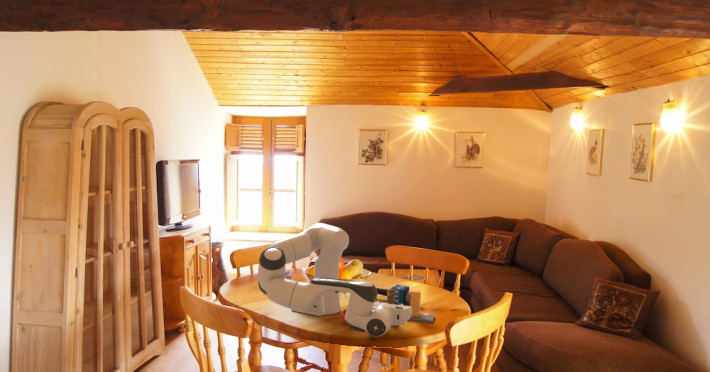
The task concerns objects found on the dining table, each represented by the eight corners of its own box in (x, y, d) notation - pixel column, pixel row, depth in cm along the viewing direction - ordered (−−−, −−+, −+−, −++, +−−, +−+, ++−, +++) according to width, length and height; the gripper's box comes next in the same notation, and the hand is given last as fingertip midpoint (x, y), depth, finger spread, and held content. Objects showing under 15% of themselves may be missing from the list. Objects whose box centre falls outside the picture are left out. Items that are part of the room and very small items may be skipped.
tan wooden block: (409, 316, 220) (410, 291, 219) (410, 313, 224) (411, 289, 223) (418, 317, 219) (419, 292, 218) (419, 314, 223) (420, 290, 222)
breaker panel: (402, 319, 219) (402, 310, 218) (405, 313, 226) (405, 305, 226) (432, 323, 216) (432, 313, 215) (434, 317, 223) (434, 308, 223)
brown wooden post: (385, 322, 213) (386, 290, 212) (386, 320, 216) (388, 288, 215) (392, 323, 212) (393, 290, 211) (393, 321, 215) (395, 289, 214)
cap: (339, 318, 208) (351, 312, 207) (338, 309, 214) (350, 303, 213) (349, 331, 211) (361, 325, 210) (348, 322, 217) (360, 315, 216)
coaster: (378, 324, 211) (378, 323, 211) (382, 318, 219) (382, 317, 219) (397, 327, 209) (397, 325, 209) (400, 320, 217) (400, 319, 217)
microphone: (375, 280, 252) (422, 288, 240) (375, 295, 253) (421, 304, 241) (368, 283, 246) (416, 292, 234) (368, 299, 246) (415, 308, 234)
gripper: (358, 319, 202) (366, 308, 216) (408, 325, 197) (413, 314, 211) (358, 303, 202) (366, 294, 215) (409, 309, 197) (414, 299, 210)
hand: (390, 304), depth 213 cm, fingers open, 8 cm apart
